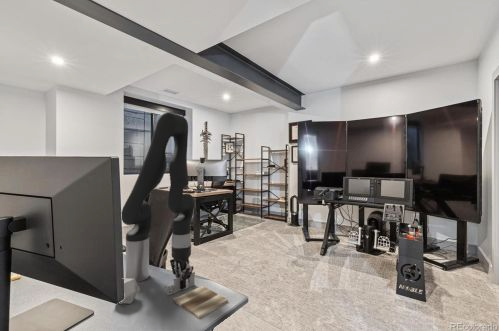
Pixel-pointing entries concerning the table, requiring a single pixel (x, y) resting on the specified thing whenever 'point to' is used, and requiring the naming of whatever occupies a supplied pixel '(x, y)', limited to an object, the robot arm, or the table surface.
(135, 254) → the robot arm
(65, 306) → the table surface
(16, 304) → the table surface
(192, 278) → the garden wall model
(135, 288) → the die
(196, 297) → the board
